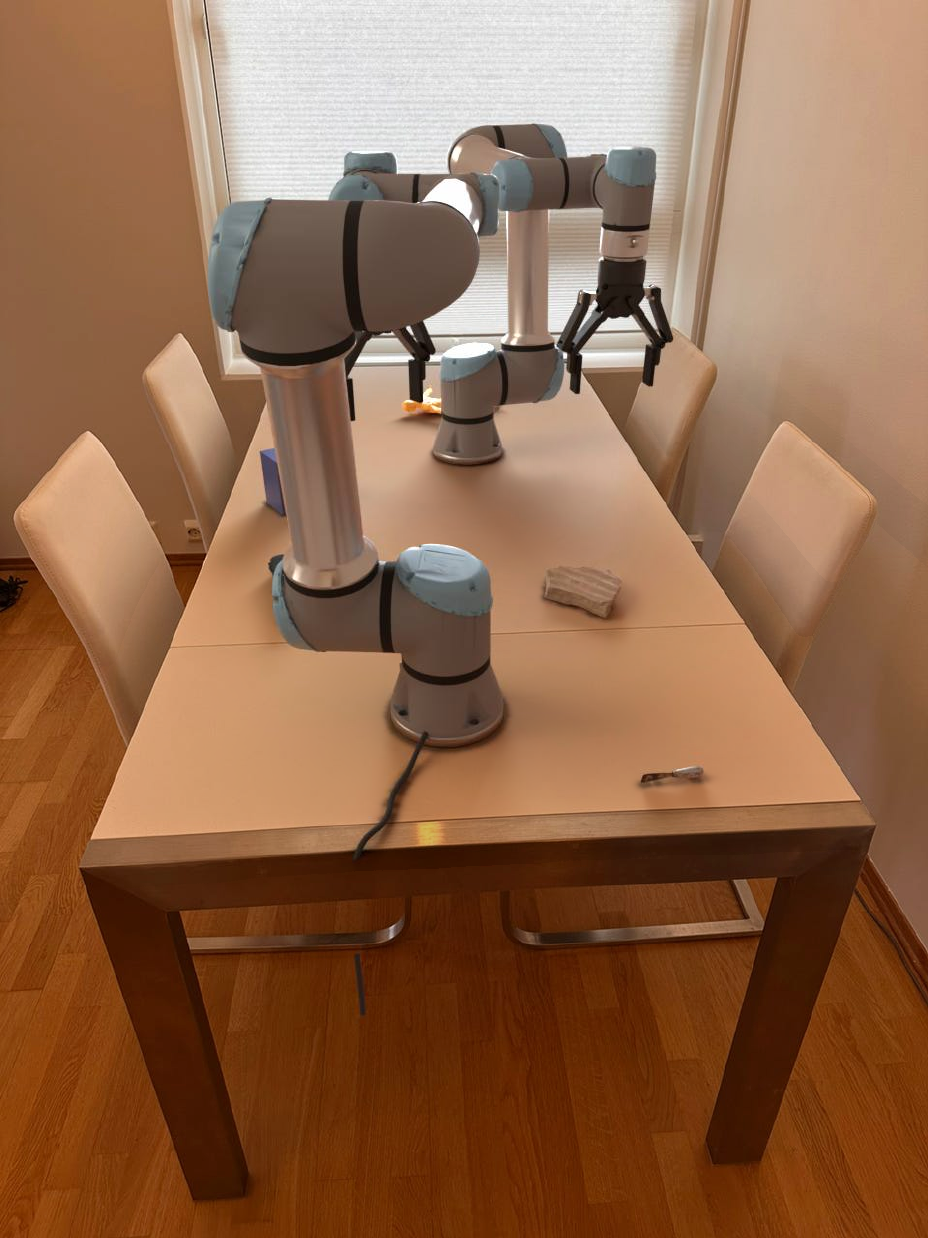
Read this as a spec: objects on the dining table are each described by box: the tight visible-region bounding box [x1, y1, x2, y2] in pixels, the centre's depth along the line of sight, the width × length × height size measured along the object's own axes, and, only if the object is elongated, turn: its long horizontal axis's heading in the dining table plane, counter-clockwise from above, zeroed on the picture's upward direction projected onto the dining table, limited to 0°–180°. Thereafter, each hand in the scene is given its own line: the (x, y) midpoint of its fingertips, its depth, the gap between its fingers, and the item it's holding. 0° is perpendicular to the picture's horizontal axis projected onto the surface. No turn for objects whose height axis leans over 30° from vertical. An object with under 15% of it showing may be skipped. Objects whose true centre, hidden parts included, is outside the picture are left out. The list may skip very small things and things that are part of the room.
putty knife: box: [640, 765, 705, 784], centre depth 109 cm, size 1×8×2 cm, turn 103°
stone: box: [544, 565, 622, 619], centre depth 147 cm, size 13×12×2 cm
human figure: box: [402, 385, 441, 415], centre depth 225 cm, size 20×20×4 cm
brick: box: [259, 447, 286, 516], centre depth 176 cm, size 8×7×11 cm
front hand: (383, 409), depth 143 cm, fingers open, 13 cm apart
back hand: (611, 388), depth 153 cm, fingers open, 13 cm apart
